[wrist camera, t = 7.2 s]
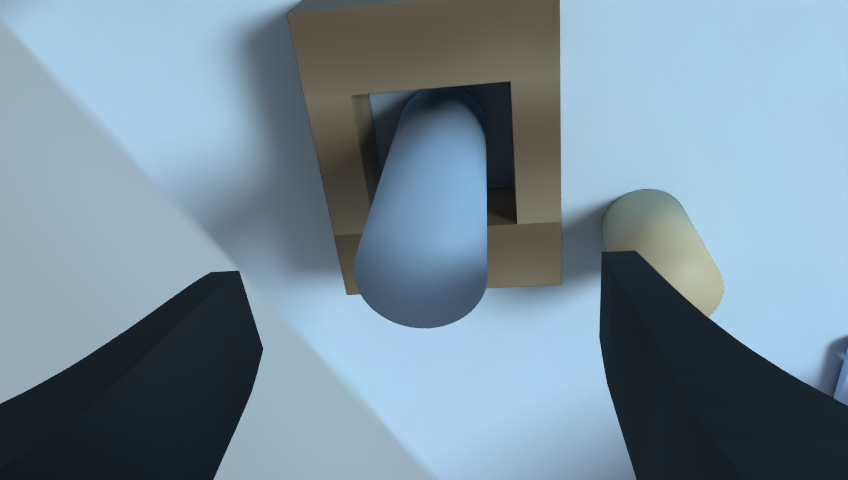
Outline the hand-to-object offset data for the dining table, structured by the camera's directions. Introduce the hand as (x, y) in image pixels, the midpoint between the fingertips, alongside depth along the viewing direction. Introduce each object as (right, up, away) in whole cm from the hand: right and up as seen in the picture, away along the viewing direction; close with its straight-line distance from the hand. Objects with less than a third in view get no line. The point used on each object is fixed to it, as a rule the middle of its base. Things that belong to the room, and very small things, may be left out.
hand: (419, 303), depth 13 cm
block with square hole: (+1, +5, +8) cm, 9 cm away
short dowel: (+8, +2, +9) cm, 12 cm away
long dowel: (+1, +5, +8) cm, 9 cm away
